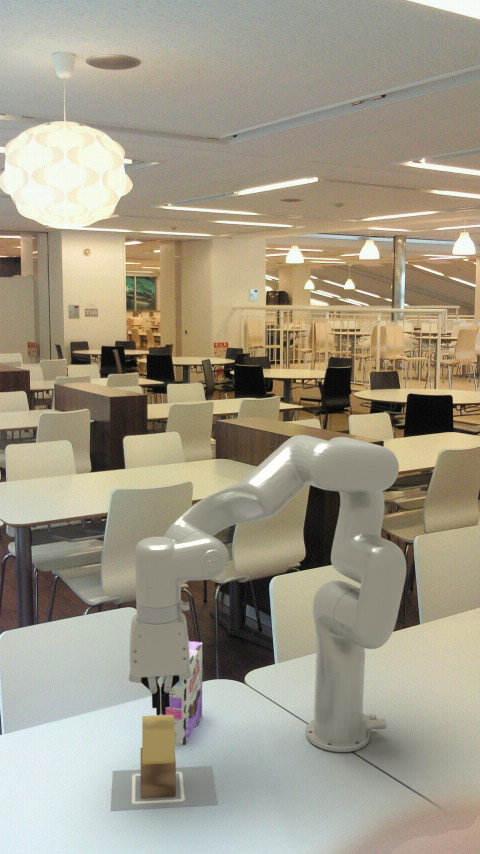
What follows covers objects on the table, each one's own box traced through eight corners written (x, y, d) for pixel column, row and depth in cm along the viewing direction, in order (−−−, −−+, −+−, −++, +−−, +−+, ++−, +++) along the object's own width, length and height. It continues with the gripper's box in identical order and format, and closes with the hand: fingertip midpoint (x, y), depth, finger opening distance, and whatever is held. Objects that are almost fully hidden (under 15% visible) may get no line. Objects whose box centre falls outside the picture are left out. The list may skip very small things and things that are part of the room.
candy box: (185, 750, 162) (186, 669, 159) (156, 746, 163) (156, 666, 161) (203, 715, 175) (203, 640, 173) (175, 712, 176) (176, 638, 174)
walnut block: (174, 777, 151) (174, 746, 150) (175, 796, 145) (175, 764, 144) (140, 778, 150) (140, 747, 150) (140, 798, 145) (140, 766, 144)
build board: (211, 770, 155) (211, 765, 155) (217, 810, 143) (217, 804, 143) (112, 776, 153) (112, 770, 153) (110, 816, 141) (110, 810, 141)
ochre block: (173, 746, 150) (173, 714, 149) (174, 763, 145) (174, 730, 144) (142, 747, 150) (142, 716, 149) (142, 764, 144) (142, 732, 143)
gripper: (201, 600, 147) (202, 698, 150) (114, 604, 146) (117, 703, 149) (204, 616, 140) (205, 719, 143) (113, 621, 138) (116, 725, 141)
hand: (160, 710), depth 146 cm, fingers closed
